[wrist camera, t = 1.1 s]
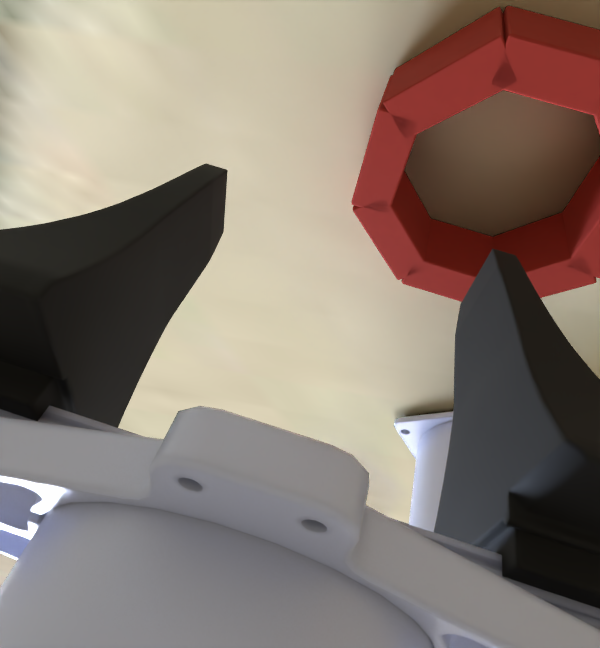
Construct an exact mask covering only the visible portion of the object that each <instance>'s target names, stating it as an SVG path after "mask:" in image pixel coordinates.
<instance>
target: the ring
mask: <svg viewBox="0 0 600 648" xmlns="http://www.w3.org/2000/svg"><path fill="white" fill-rule="evenodd" d="M502 90H505V91H508V92H512V93H516V94H519V95H523V96H526V97H530V98H533V99H537V100H541V101H544V102H548V103H551V104H555V105H559V106H562V107H566V108H569V109H573V110H576V111H580V112H584V113H587V114H591V115H593V117H594V120H595V123H596V126H597V129H598V132H599V136H600V30H598V29H594V28H590V27H587V26H583V25H579V24H575V23H572V22H568V21H564V20H561V19H557V18H553V17H549V16H546V15H542V14H538V13H535V12H531V11H527V10H523V9H520V8H516V7H512V6H507V7H506V8H505V11H504V13H502V10H501V8H500V7H497V8H496V9H494V10H492V11H491V12H489V13H487V14H486V15H484V16H482V17H481V18H479V19H477V20H476V21H474V22H472V23H471V24H469V25H467V26H466V27H464V28H463V29H461V30H459V31H458V32H456V33H454V34H453V35H451V36H449V37H448V38H446V39H444V40H443V41H441V42H439V43H438V44H436V45H434V46H433V47H431V48H429V49H428V50H426V51H424V52H423V53H421V54H419V55H418V56H416V57H414V58H413V59H411V60H409V61H408V62H406V63H404V64H403V65H401V66H399V67H398V68H396V69H395V71H394V74H393V75H391V76H390V78H389V81H388V84H387V86H386V89H385V92H384V94H383V97H382V100H381V102H380V105H379V108H378V111H377V114H376V118H375V121H374V125H373V128H372V132H371V135H370V139H369V142H368V146H367V149H366V153H365V156H364V160H363V163H362V167H361V170H360V174H359V177H358V181H357V184H356V188H355V191H354V195H353V198H352V204H353V205H354V207H353V212H354V213H355V215H356V216H357V218H358V219H359V221H360V222H361V224H362V226H363V227H364V229H365V230H366V232H367V233H368V235H369V236H370V238H371V240H372V241H373V243H374V244H375V246H376V247H377V249H378V250H379V252H380V253H381V255H382V257H383V258H384V260H385V261H386V263H387V264H388V266H389V267H390V269H391V271H392V272H393V274H394V275H395V277H396V278H397V279H398V280H400V279H402V283H403V284H406V285H409V286H412V287H415V288H419V289H422V290H425V291H428V292H432V293H435V294H438V295H442V296H445V297H448V298H451V299H455V300H458V301H461V302H462V301H463V299H464V297H465V296H466V294H467V292H468V290H469V289H470V287H471V285H472V283H473V282H474V280H475V278H476V276H477V275H478V273H479V271H480V269H481V268H482V266H483V264H484V262H485V261H486V259H487V257H488V255H489V254H490V252H491V250H492V248H493V249H496V250H500V251H503V252H506V253H510V254H513V255H516V256H517V258H518V260H519V261H520V263H521V265H522V267H523V268H524V270H525V272H526V274H527V276H528V277H529V279H530V281H531V283H532V285H533V286H534V288H535V290H536V292H537V293H538V295H539V297H540V298H542V297H545V296H549V295H553V294H556V293H560V292H564V291H567V290H571V289H575V288H578V287H582V286H586V285H590V284H593V283H596V277H597V278H600V156H599V158H598V159H597V161H596V162H595V164H594V165H593V167H592V168H591V170H590V171H589V173H588V174H587V176H586V177H585V179H584V180H583V182H582V183H581V185H580V186H579V188H578V190H577V191H576V193H575V194H574V196H573V197H572V199H571V200H570V202H569V203H568V205H567V206H566V208H565V209H564V211H563V212H562V213H559V214H556V215H553V216H550V217H547V218H545V219H542V220H539V221H536V222H533V223H530V224H528V225H525V226H522V227H519V228H516V229H513V230H511V231H508V232H505V233H502V234H499V235H496V236H494V237H492V236H488V235H485V234H482V233H478V232H475V231H471V230H468V229H465V228H461V227H458V226H455V225H451V224H448V223H444V222H441V221H438V220H434V219H431V218H430V216H429V215H428V213H427V211H426V209H425V207H424V206H423V204H422V202H421V200H420V198H419V197H418V195H417V193H416V191H415V189H414V188H413V186H412V184H411V182H410V180H409V179H408V177H407V175H406V173H405V171H404V169H405V166H406V164H407V161H408V158H409V155H410V152H411V150H412V147H413V144H414V141H415V138H416V136H417V134H418V133H420V132H422V131H424V130H426V129H428V128H430V127H432V126H434V125H435V124H437V123H439V122H441V121H443V120H445V119H447V118H449V117H451V116H453V115H455V114H457V113H459V112H461V111H463V110H465V109H467V108H469V107H471V106H473V105H475V104H477V103H479V102H481V101H483V100H485V99H487V98H489V97H491V96H492V95H494V94H496V93H498V92H500V91H502Z"/></svg>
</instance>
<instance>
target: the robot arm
mask: <svg viewBox="0 0 600 648" xmlns="http://www.w3.org/2000/svg"><path fill="white" fill-rule="evenodd" d="M226 184H227V170H226V169H222V168H219V167H216V166H212V165H209V164H204V165H201V166H199V167H197V168H195V169H193V170H191V171H189V172H187V173H185V174H183V175H181V176H179V177H177V178H175V179H173V180H171V181H169V182H167V183H165V184H163V185H160V186H158V187H156V188H154V189H152V190H150V191H148V192H145V193H143V194H140V195H138V196H136V197H133V198H131V199H128V200H126V201H124V202H121V203H119V204H116V205H113V206H110V207H107V208H104V209H101V210H98V211H94V212H91V213H88V214H84V215H81V216H76V217H72V218H67V219H63V220H58V221H54V222H50V223H45V224H39V225H33V226H26V227H19V228H11V229H3V230H0V553H2V554H4V555H6V556H9V557H11V558H13V559H16V560H17V562H16V563H15V565H14V566H13V568H12V570H11V571H10V573H9V574H8V576H7V577H6V579H5V581H4V582H3V584H2V585H1V587H0V648H600V379H599V378H598V377H597V376H596V375H595V374H594V373H593V372H592V370H591V369H590V368H589V367H588V366H587V364H586V363H585V362H584V361H583V360H582V358H581V357H580V356H579V355H578V353H577V352H576V351H575V350H574V348H573V347H572V346H571V344H570V343H569V342H568V340H567V339H566V337H565V336H564V335H563V333H562V332H561V330H560V329H559V327H558V326H557V324H556V323H555V321H554V320H553V318H552V317H551V315H550V314H549V312H548V310H547V309H546V307H545V305H544V304H543V302H542V300H541V299H540V297H539V295H538V293H537V292H536V290H535V288H534V286H533V285H532V283H531V281H530V279H529V277H528V276H527V274H526V272H525V270H524V268H523V267H522V265H521V263H520V261H519V260H518V258H517V256H516V255H513V254H510V253H506V252H503V251H500V250H496V249H493V248H492V250H491V252H490V254H489V255H488V257H487V259H486V261H485V262H484V264H483V266H482V268H481V269H480V271H479V273H478V275H477V276H476V278H475V280H474V282H473V283H472V285H471V287H470V289H469V290H468V292H467V294H466V296H465V297H464V299H463V301H462V303H461V305H460V311H459V316H458V322H457V328H456V334H455V367H454V409H453V411H452V412H443V413H434V414H425V415H416V416H407V417H399V418H397V419H395V422H394V427H395V428H396V430H397V431H398V433H399V434H400V436H401V438H402V439H403V441H404V442H405V444H406V445H407V447H408V448H409V450H410V451H411V453H412V454H413V456H414V457H415V459H416V466H415V475H414V484H413V492H412V501H411V510H410V519H409V524H407V523H404V522H401V521H398V520H395V519H392V518H389V517H387V516H386V515H384V514H382V513H380V512H378V511H376V510H374V509H372V508H371V507H369V506H367V505H366V500H367V494H368V489H369V473H368V472H367V470H366V469H365V468H364V467H363V466H362V465H361V464H360V463H359V462H358V460H357V459H356V458H355V457H354V456H353V455H351V454H349V453H347V452H345V451H343V450H341V449H339V448H337V447H335V446H333V445H330V444H327V443H324V442H321V441H318V440H315V439H312V438H309V437H306V436H302V435H299V434H296V433H293V432H290V431H287V430H284V429H281V428H278V427H275V426H272V425H269V424H265V423H262V422H259V421H256V420H253V419H250V418H247V417H244V416H241V415H238V414H235V413H232V412H228V411H225V410H222V409H216V408H210V407H204V406H198V407H194V408H190V409H185V410H181V411H178V413H177V415H176V417H175V419H174V421H173V423H172V425H171V427H170V429H169V431H168V432H167V434H166V436H165V438H164V439H157V438H150V437H144V436H141V435H138V434H135V433H132V432H129V431H126V430H123V429H120V428H118V426H119V423H120V421H121V419H122V416H123V414H124V412H125V410H126V407H127V405H128V403H129V401H130V399H131V396H132V394H133V392H134V390H135V388H136V385H137V383H138V381H139V379H140V377H141V375H142V373H143V371H144V369H145V367H146V365H147V363H148V361H149V359H150V356H151V354H152V352H153V351H154V349H155V347H156V345H157V343H158V341H159V339H160V337H161V335H162V333H163V331H164V329H165V327H166V326H167V324H168V322H169V321H170V319H171V317H172V316H173V314H174V313H175V311H176V310H177V308H178V307H179V305H180V304H181V302H182V301H183V300H184V298H185V297H186V295H187V294H188V292H189V291H190V289H191V288H192V286H193V285H194V283H195V282H196V280H197V279H198V277H199V276H200V274H201V273H202V271H203V270H204V268H205V267H206V265H207V264H208V262H209V261H210V259H211V257H212V255H213V253H214V251H215V249H216V247H217V245H218V242H219V240H220V238H221V236H222V234H223V230H224V215H225V199H226Z"/></svg>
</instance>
